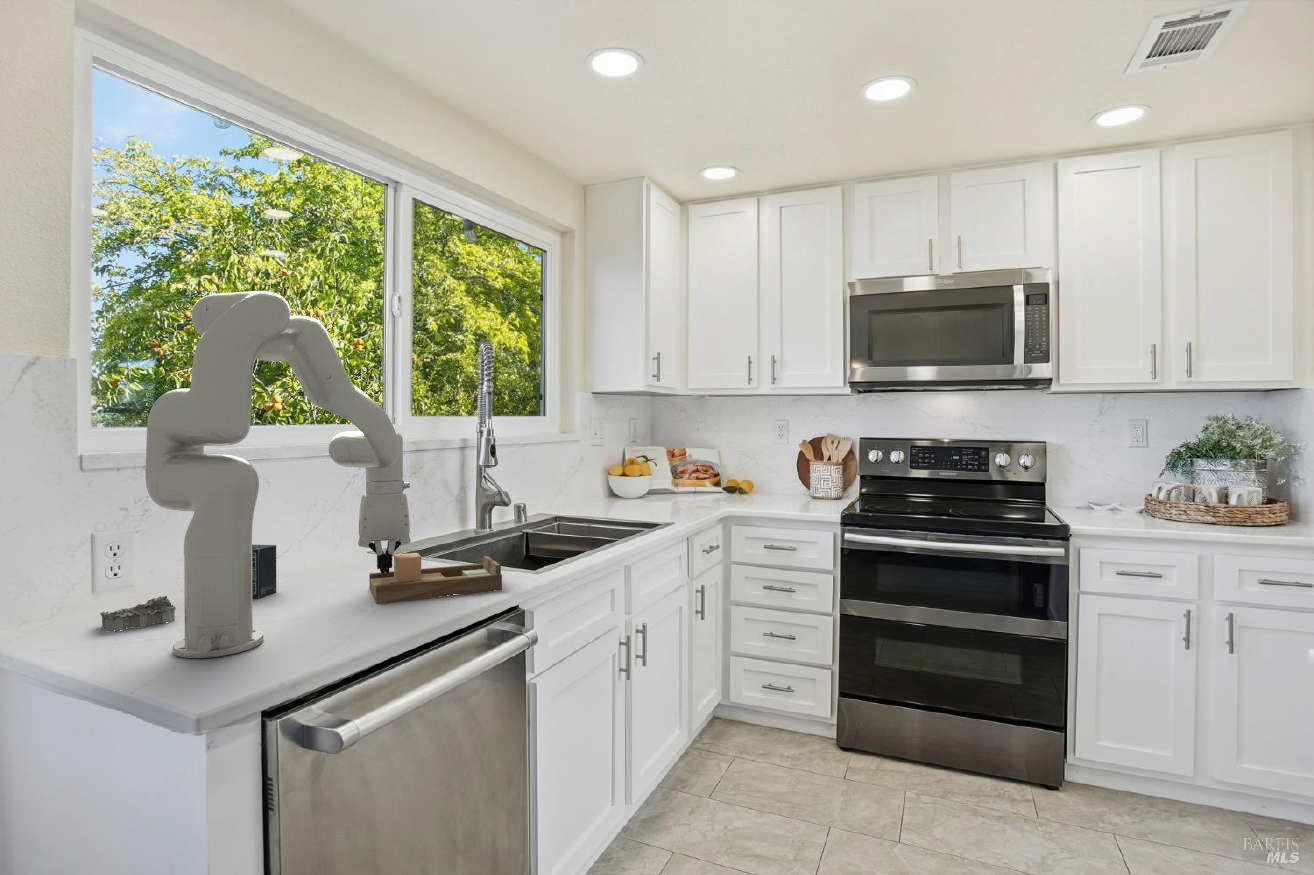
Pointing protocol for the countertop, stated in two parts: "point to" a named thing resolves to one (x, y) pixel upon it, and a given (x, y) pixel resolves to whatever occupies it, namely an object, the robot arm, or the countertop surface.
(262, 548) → the small box
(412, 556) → the block
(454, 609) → the countertop surface
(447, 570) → the wooden desk organizer
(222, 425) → the robot arm
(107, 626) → the egg carton
